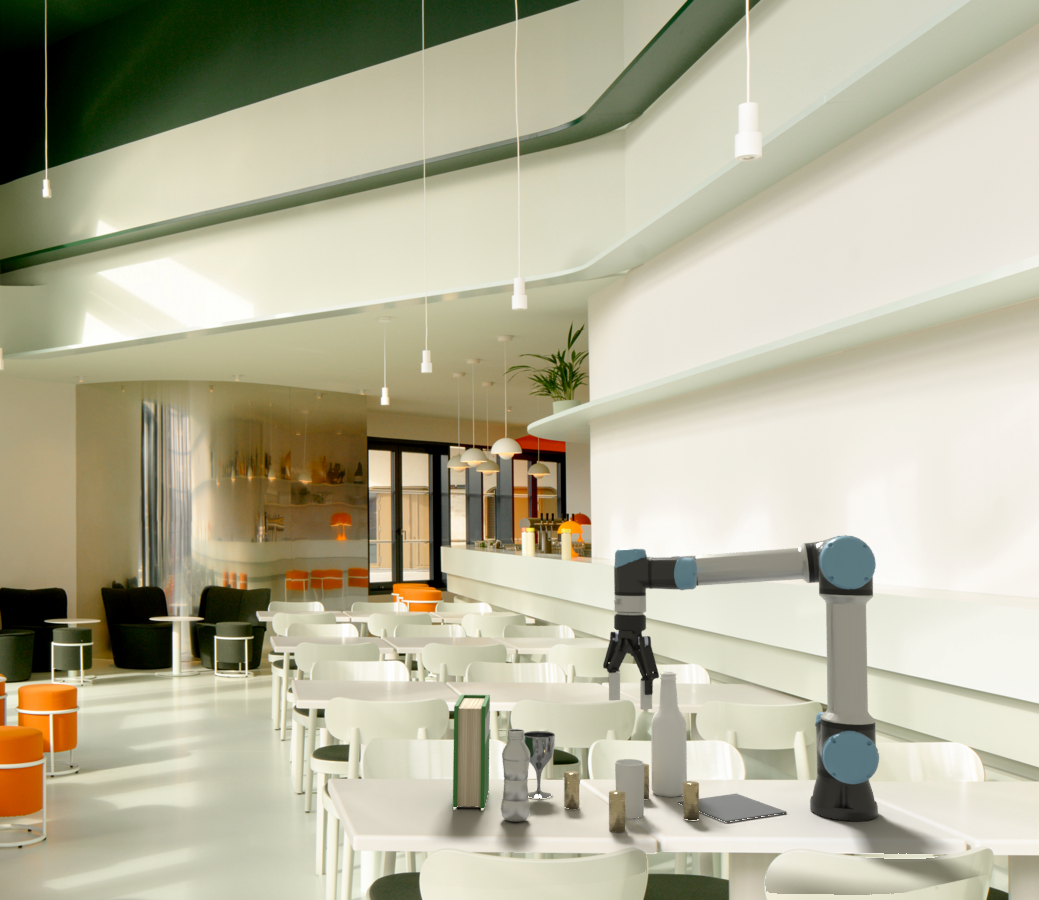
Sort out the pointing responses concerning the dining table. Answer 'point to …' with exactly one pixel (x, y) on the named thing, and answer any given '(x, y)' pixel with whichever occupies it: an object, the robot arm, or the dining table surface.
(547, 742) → the wine glass
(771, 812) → the mat
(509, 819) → the plastic bottle
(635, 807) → the mug
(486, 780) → the hardback book
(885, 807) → the dining table surface
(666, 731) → the alcohol
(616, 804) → the spacer posts
